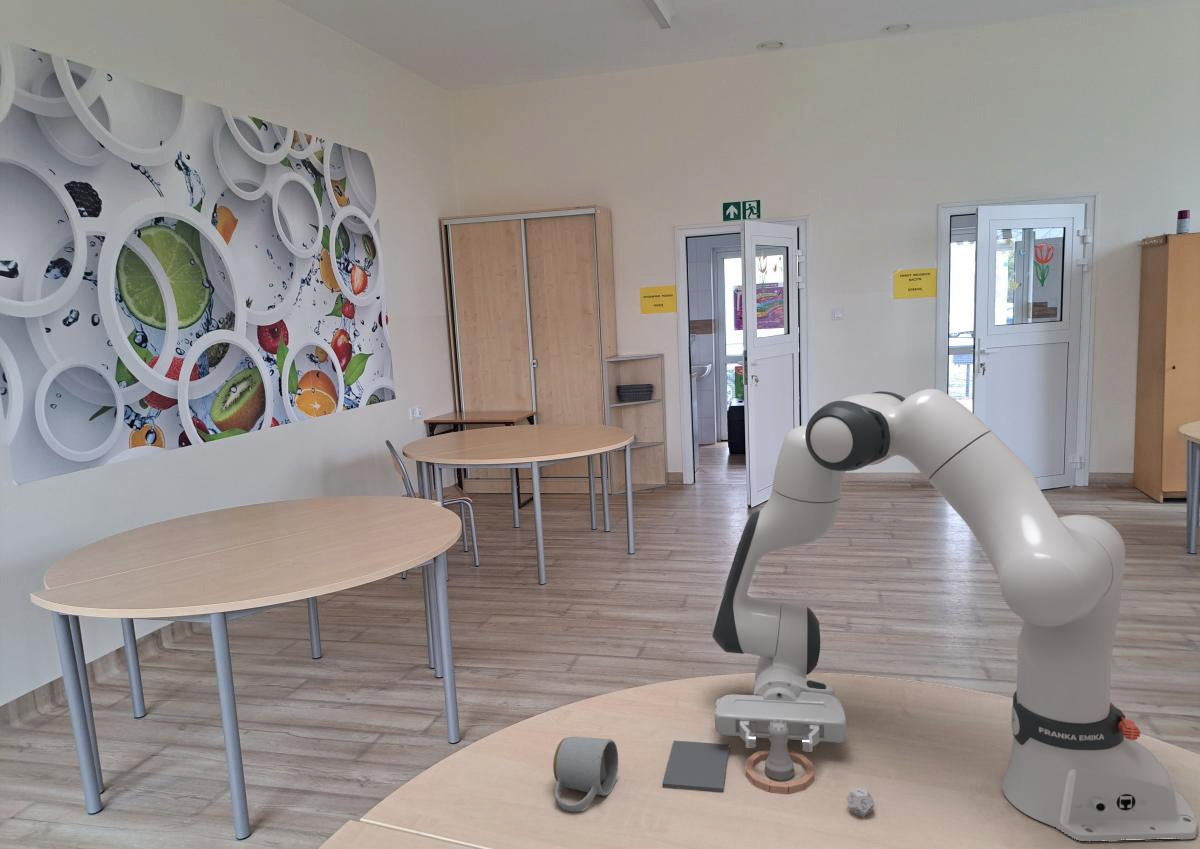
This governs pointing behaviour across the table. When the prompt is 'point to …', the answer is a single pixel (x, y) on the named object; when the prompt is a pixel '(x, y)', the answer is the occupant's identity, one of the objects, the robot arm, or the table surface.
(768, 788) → the terracotta ring
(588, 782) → the ceramic mug
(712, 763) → the charcoal mat
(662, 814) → the table surface
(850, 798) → the game die
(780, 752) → the rook chess piece
